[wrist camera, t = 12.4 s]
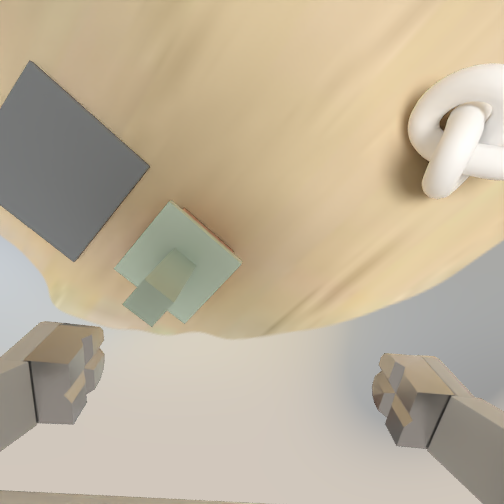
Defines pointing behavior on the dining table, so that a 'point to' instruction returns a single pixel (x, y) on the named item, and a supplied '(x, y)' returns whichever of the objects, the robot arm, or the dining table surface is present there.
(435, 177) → the white knot sculpture
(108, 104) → the dining table surface
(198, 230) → the lid
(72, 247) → the mat
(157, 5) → the dining table surface
